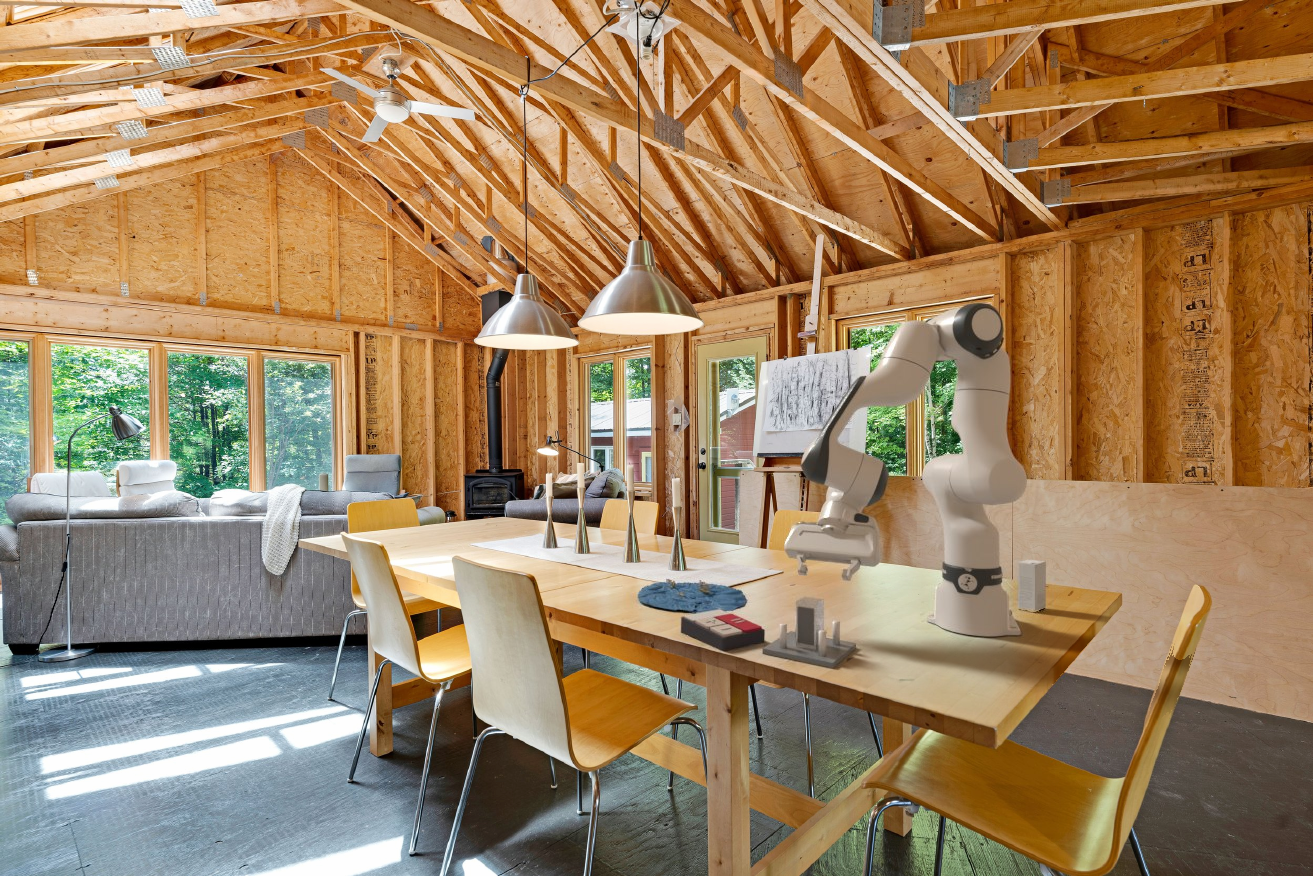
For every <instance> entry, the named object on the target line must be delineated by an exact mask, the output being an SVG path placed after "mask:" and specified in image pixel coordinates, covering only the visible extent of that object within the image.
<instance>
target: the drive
mask: <svg viewBox="0 0 1313 876" xmlns="http://www.w3.org/2000/svg"><path fill="white" fill-rule="evenodd" d="M824 601H825V600H824V599H822V598H817V597H809V596H803V597H802V598H799V599H797V600H795V612H796V613H795V615H796V647H799V648H805V649H810V650H815V651H816V650H817V649H819V630H824V631H825V613H824V612H825V608H824V607H825V602H824Z"/></svg>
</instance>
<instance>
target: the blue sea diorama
mask: <svg viewBox="0 0 1313 876" xmlns="http://www.w3.org/2000/svg"><path fill="white" fill-rule="evenodd" d="M637 598H638V599H637V600H639V601H640V602H641V603H642V604H644V605H647V606H651V607H654V608H660V609H664V610H670V611H677V610H681V611H682V610H683V611H687V612H689V613H691V614H696V613H701V612H707V611H713V610H718V609H720V610H723V611H725V612H732V611H734V610H735V609H737V608H738V607H739V608H740V607H742V606H745V605H746V601H747V600H748V599H747V598H746V597H744V592H743V591H742V590H741V589H736V588H734V587H729V586H726V585H722V584H719V585H718V584H714V583H708V582H705V581H702V580H700V579H699V580H698V582H688V581H687V582H675V580H672V579H671V578H670V579H669V578H666V580H665V581H662V582H661V581H660V582H653V583H652V584H650V585H648V584H647V585H646V586H643V587H642V588H641V589H640V590H639V591H638V594H637Z"/></svg>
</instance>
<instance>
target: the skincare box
mask: <svg viewBox="0 0 1313 876" xmlns="http://www.w3.org/2000/svg"><path fill="white" fill-rule="evenodd" d="M1017 571H1018V574H1017V575H1018V576H1017V577H1018V578H1017V581H1018V582H1017V609H1018V608H1022V609H1028V610H1034V611H1036V610H1039V609H1042V608H1045V607H1046V603H1047V602H1046V601H1047V600H1046V599H1047V597H1046V593H1047V590H1046V589H1047V587H1046V586H1047V585H1046V584H1047V581H1046V580H1047V578H1046V577H1047V562H1046V561H1044V560H1036V559H1026V560H1022V561H1019V562H1018V570H1017ZM1045 609H1046V608H1045Z"/></svg>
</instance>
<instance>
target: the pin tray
mask: <svg viewBox="0 0 1313 876" xmlns="http://www.w3.org/2000/svg"><path fill="white" fill-rule="evenodd" d="M794 621H795V622H794V630H795V631H792V630H790V631H789V632H788V624H787V623H779V637H778V638H777V639H775V640H774V641H772V642H771V643H769V644H767V645H765V646H764V647H763V648H762V651H761V652H762V655H768V656H772V657H777V658H782V659H786V658H787V660H792V661H795V660H796V662H801V663H805V664H811V665H815V666H819V667H820V666H821V667H824V668H829V669H834V668H835V667H836V666H837V665H838V664H840V663H841V662H843V660H845V659H846V658H847V657H848V656H849V655H850V654H852V652H854V650H856V649H857V642H852V641H848V640H841V621H840V620H832V638H829V637H827V630H825V629H824V630H819V649H817V650H816V651H815V650H810V649H805V648H799V647H796V614H795V617H794Z"/></svg>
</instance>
